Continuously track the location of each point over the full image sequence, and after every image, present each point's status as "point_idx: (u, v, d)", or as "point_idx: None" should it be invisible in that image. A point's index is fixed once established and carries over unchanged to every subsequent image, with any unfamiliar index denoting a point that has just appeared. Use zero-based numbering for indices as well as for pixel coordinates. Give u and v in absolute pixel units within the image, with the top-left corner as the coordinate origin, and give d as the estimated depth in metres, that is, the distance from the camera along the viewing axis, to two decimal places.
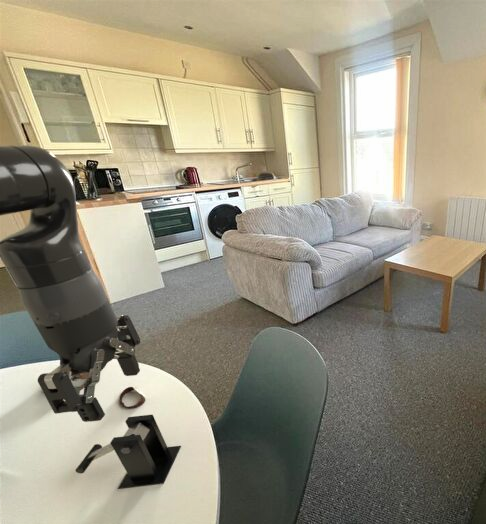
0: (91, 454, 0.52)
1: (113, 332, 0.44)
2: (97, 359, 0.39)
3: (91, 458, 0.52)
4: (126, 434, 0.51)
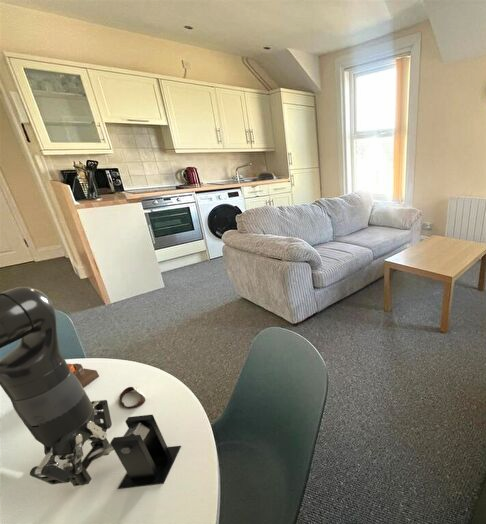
0: (92, 454, 0.52)
1: (90, 414, 0.53)
2: (76, 443, 0.49)
3: (91, 458, 0.52)
4: (126, 434, 0.51)
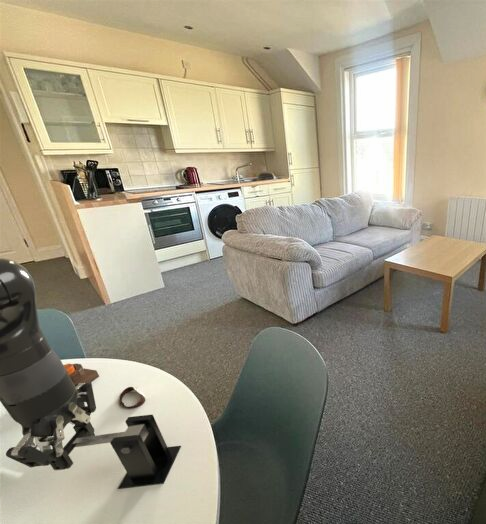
0: (78, 440, 0.51)
1: (73, 396, 0.51)
2: (57, 425, 0.47)
3: (76, 444, 0.51)
4: (128, 432, 0.51)
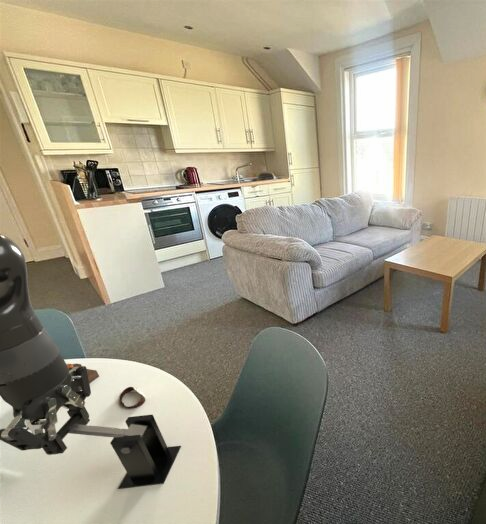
0: (74, 427, 0.50)
1: (66, 379, 0.49)
2: (50, 408, 0.45)
3: (71, 431, 0.49)
4: (130, 431, 0.51)
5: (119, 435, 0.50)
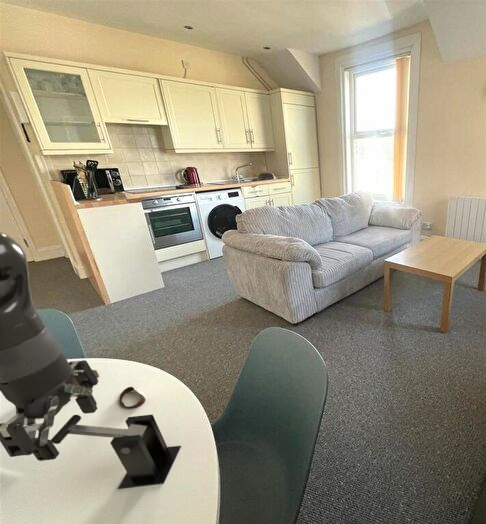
0: (74, 427, 0.50)
1: (69, 378, 0.49)
2: (51, 406, 0.45)
3: (71, 431, 0.49)
4: (130, 431, 0.51)
5: (119, 435, 0.51)
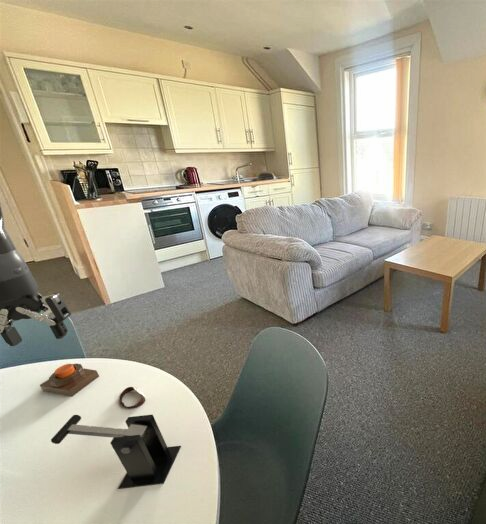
0: (74, 427, 0.50)
1: (31, 303, 0.59)
2: (0, 313, 0.58)
3: (71, 431, 0.49)
4: (130, 431, 0.51)
5: (119, 435, 0.51)
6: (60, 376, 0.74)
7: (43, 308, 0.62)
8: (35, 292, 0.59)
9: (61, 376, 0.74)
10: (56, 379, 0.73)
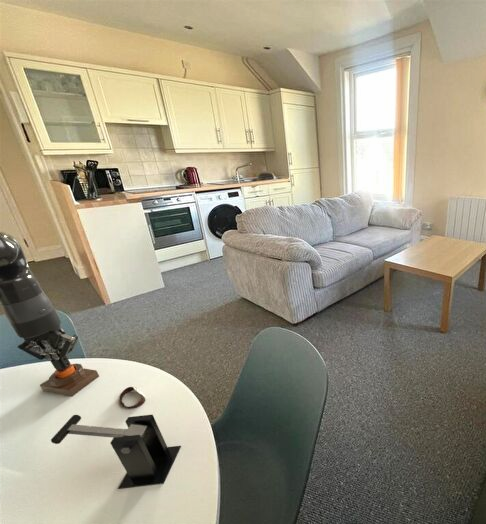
0: (74, 427, 0.50)
1: (53, 337, 0.70)
2: (33, 345, 0.70)
3: (71, 431, 0.49)
4: (130, 431, 0.51)
5: (119, 435, 0.51)
6: (60, 376, 0.74)
7: None
8: (57, 327, 0.70)
9: (61, 376, 0.74)
10: (56, 379, 0.73)
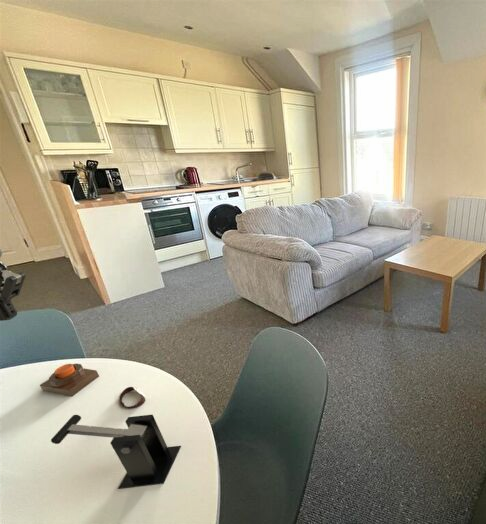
0: (74, 427, 0.50)
1: None
2: None
3: (71, 431, 0.49)
4: (130, 431, 0.51)
5: (119, 435, 0.51)
6: (60, 376, 0.74)
7: None
8: None
9: (61, 376, 0.74)
10: (56, 379, 0.73)
